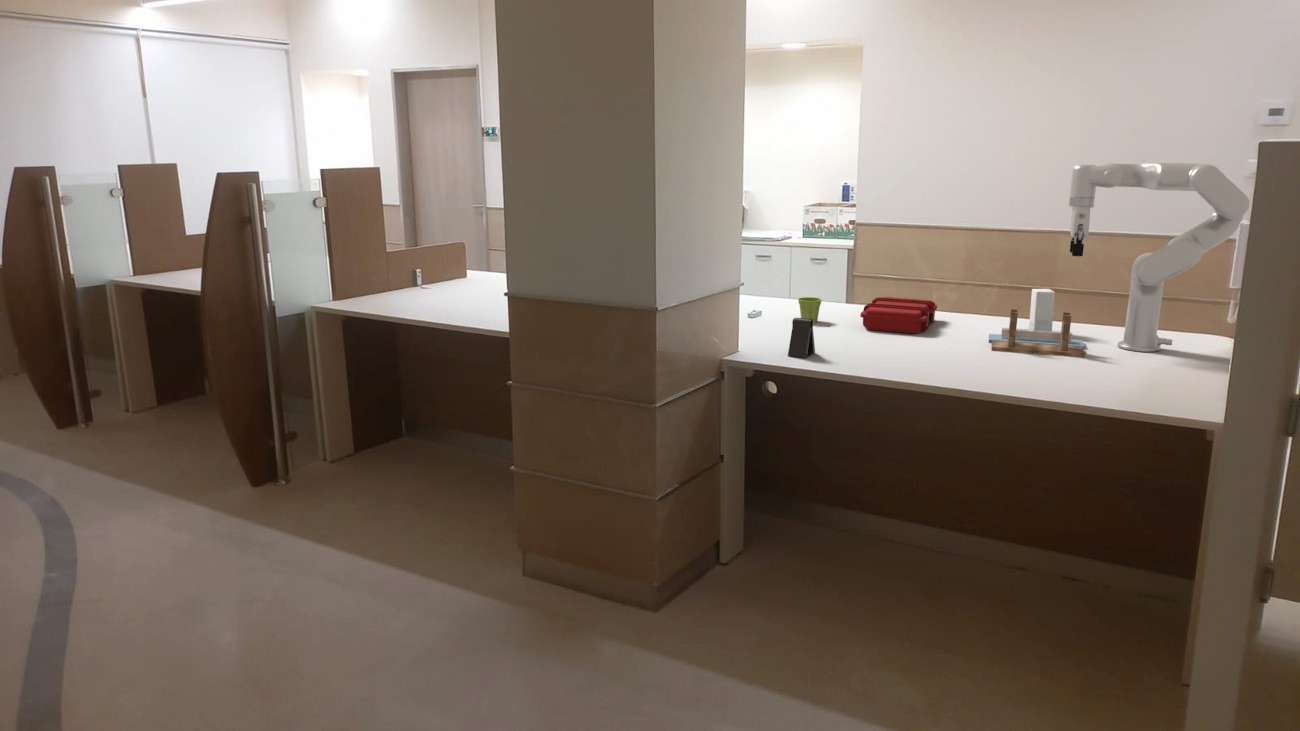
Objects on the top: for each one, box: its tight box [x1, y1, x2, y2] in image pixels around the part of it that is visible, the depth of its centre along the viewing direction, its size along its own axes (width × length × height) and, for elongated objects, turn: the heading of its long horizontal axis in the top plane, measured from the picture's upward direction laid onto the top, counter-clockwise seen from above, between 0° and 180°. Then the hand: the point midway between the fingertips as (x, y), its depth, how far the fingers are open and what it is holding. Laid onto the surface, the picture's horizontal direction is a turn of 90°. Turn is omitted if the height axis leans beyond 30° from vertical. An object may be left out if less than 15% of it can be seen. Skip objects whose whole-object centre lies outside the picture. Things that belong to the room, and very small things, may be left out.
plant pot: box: [797, 296, 823, 323], centre depth 344 cm, size 9×9×9 cm
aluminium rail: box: [1000, 327, 1073, 343], centre depth 308 cm, size 22×3×3 cm, turn 69°
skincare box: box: [1028, 288, 1056, 331], centre depth 322 cm, size 8×7×16 cm
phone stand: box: [787, 317, 816, 359], centre depth 291 cm, size 9×6×12 cm, turn 149°
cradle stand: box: [991, 308, 1086, 358], centre depth 296 cm, size 28×10×13 cm, turn 69°
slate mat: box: [988, 333, 1086, 350], centre depth 308 cm, size 30×10×1 cm, turn 69°
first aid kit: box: [859, 296, 938, 334], centre depth 337 cm, size 32×23×9 cm
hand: (1075, 254), depth 302 cm, fingers open, 9 cm apart
